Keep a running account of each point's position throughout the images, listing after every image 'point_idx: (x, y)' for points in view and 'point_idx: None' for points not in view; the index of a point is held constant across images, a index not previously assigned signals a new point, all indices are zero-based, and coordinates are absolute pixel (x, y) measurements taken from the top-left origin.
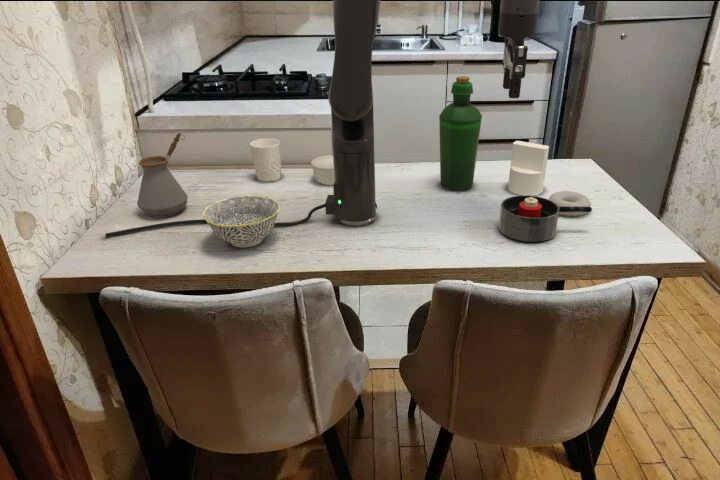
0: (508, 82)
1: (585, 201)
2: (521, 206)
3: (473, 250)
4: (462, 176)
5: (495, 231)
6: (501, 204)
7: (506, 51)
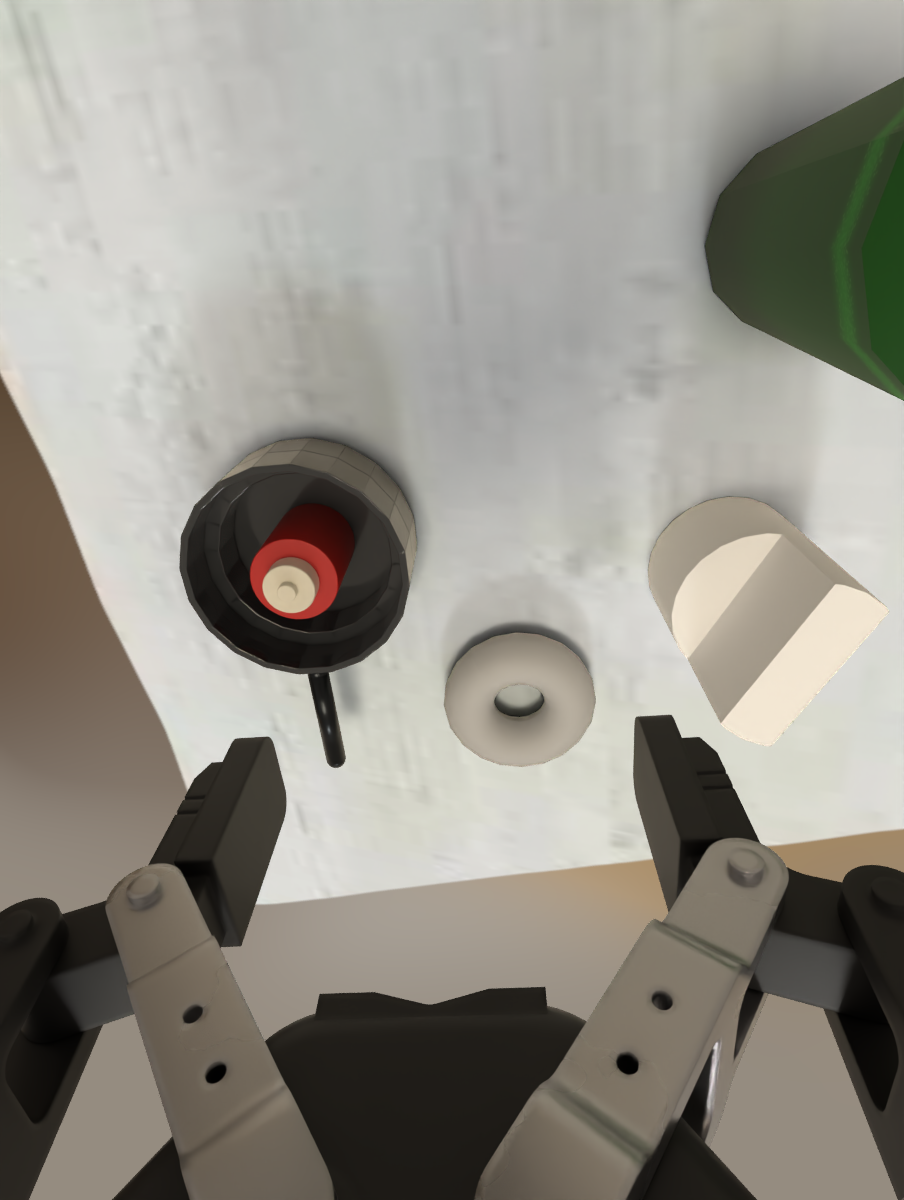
0: (649, 792)
1: (485, 754)
2: (272, 545)
3: (106, 331)
4: (727, 270)
5: (289, 422)
6: (288, 465)
7: (277, 1172)
